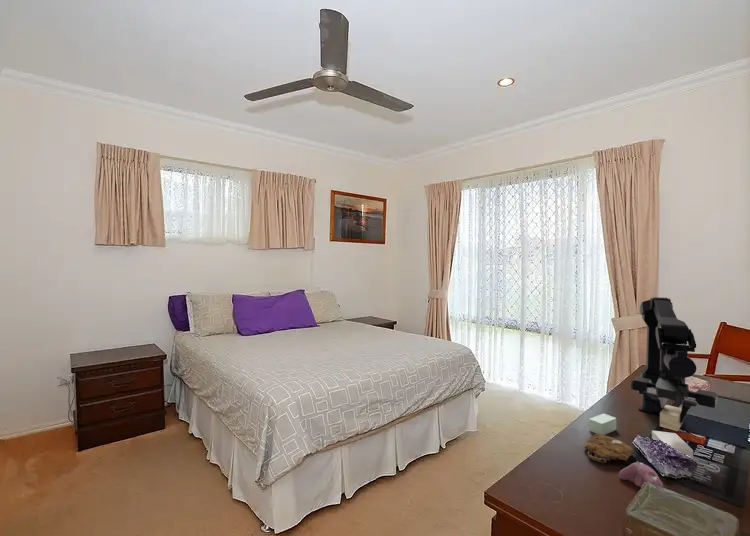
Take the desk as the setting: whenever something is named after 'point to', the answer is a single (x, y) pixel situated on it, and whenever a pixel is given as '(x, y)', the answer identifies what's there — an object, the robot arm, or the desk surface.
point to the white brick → (673, 441)
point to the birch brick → (670, 417)
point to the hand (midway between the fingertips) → (671, 420)
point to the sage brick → (602, 424)
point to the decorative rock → (607, 448)
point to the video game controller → (640, 474)
